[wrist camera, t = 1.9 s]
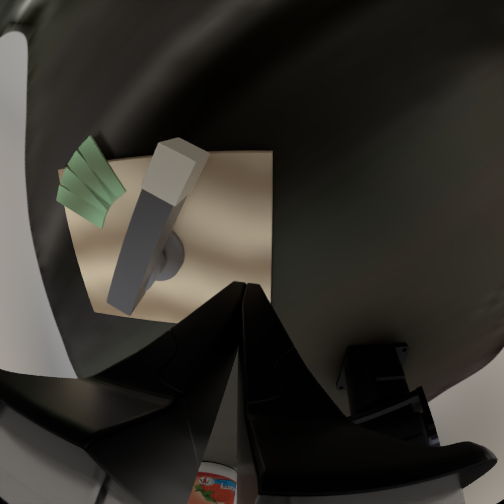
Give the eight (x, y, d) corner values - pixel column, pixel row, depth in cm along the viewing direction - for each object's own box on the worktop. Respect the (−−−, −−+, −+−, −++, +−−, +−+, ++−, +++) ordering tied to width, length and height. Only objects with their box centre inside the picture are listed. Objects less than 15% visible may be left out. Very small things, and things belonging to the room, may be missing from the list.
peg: (158, 282, 21) (133, 319, 17) (130, 266, 20) (102, 300, 17) (220, 151, 16) (200, 163, 12) (185, 133, 16) (155, 140, 12)
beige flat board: (270, 320, 25) (268, 336, 23) (94, 304, 26) (85, 315, 25) (272, 117, 17) (271, 118, 16) (58, 142, 19) (43, 147, 17)
